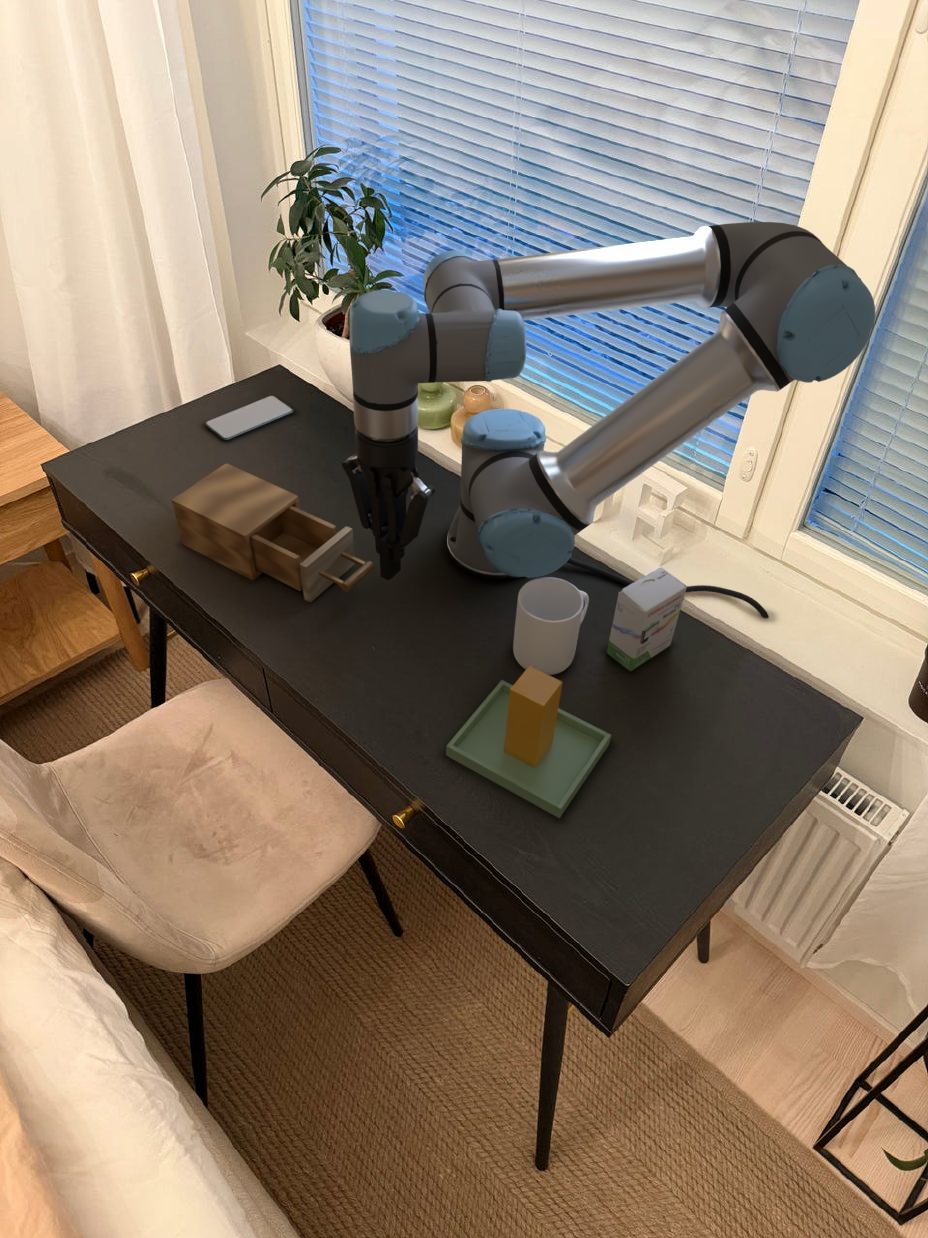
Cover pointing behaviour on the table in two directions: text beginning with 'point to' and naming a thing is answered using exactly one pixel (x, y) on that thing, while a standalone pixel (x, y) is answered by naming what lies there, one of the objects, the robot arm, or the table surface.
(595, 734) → the tray
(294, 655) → the table surface
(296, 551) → the drawer
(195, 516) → the cabinet
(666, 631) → the ink box
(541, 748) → the block
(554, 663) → the mug
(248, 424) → the smartphone
